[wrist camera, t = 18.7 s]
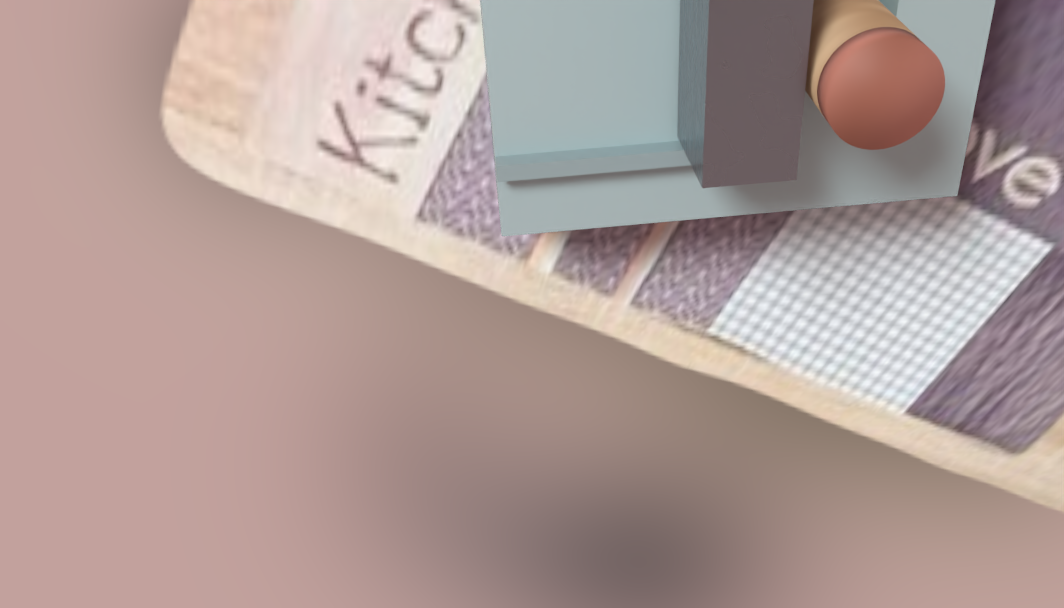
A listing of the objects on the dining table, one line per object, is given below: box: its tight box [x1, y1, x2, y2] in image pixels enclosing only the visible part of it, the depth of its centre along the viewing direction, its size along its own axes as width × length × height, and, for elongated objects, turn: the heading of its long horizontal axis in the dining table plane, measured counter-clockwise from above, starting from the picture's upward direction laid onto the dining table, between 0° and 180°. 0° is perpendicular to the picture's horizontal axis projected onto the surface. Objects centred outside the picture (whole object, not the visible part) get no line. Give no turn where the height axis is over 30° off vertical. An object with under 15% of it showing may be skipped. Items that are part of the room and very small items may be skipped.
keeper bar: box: [677, 0, 814, 188], centre depth 31 cm, size 3×7×4 cm, turn 4°
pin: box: [805, 0, 945, 150], centre depth 33 cm, size 3×3×10 cm
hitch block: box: [480, 0, 995, 236], centre depth 35 cm, size 17×14×6 cm
